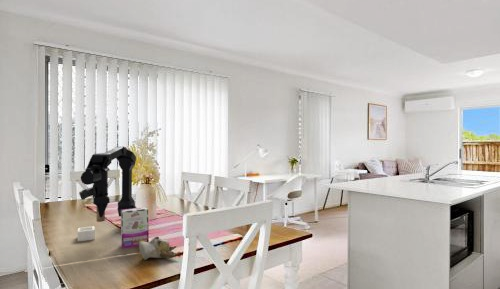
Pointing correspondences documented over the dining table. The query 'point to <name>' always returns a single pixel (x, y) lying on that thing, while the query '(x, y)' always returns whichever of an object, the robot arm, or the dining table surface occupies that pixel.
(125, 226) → the candy bar box
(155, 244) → the ceramic sculpture
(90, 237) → the white square frame
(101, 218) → the dowel
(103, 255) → the dining table surface
